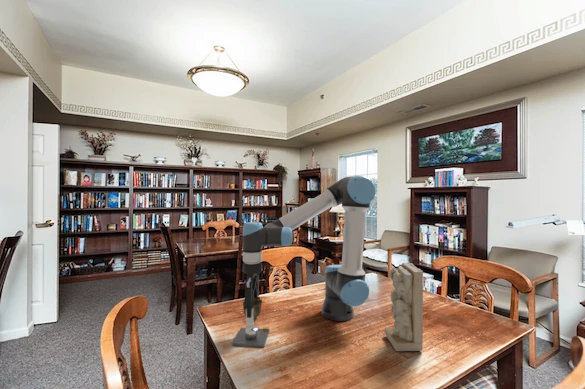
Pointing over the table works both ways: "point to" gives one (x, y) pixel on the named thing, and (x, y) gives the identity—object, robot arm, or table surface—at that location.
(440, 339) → the table surface
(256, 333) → the grey plate with knob
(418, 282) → the sculpture
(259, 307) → the scalloped lamp shade
